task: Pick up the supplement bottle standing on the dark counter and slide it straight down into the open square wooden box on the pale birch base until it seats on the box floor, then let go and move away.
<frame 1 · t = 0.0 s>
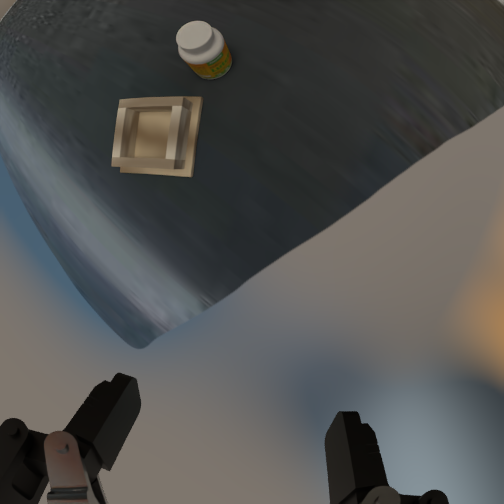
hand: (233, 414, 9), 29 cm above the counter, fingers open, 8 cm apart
supplement bottle: (213, 63, 31), on the counter
open square wooden box: (160, 135, 34), on the counter
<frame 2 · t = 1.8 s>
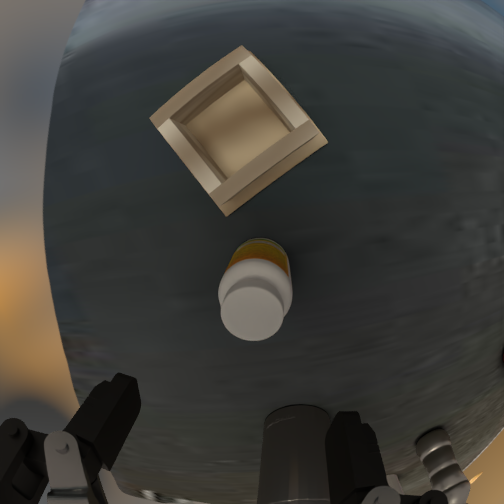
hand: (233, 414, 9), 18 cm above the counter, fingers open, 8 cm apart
supplement bottle: (260, 263, 26), on the counter
plastic bottle: (428, 434, 33), on the counter
open square wooden box: (239, 130, 23), on the counter
shot glass: (384, 479, 38), on the counter
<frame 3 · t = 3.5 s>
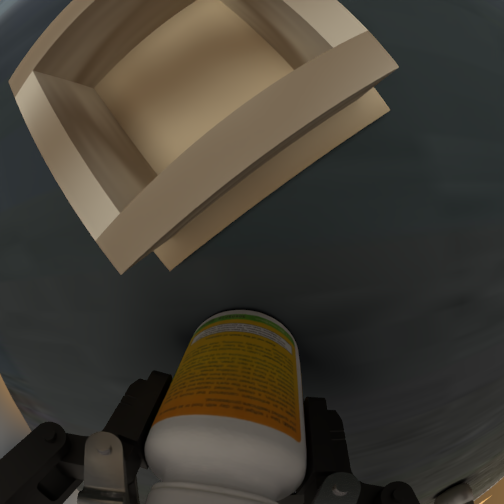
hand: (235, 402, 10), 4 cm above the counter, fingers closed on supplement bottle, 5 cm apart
supplement bottle: (244, 350, 13), on the counter, touching gripper
plastic bottle: (449, 488, 20), on the counter
open square wooden box: (195, 86, 10), on the counter
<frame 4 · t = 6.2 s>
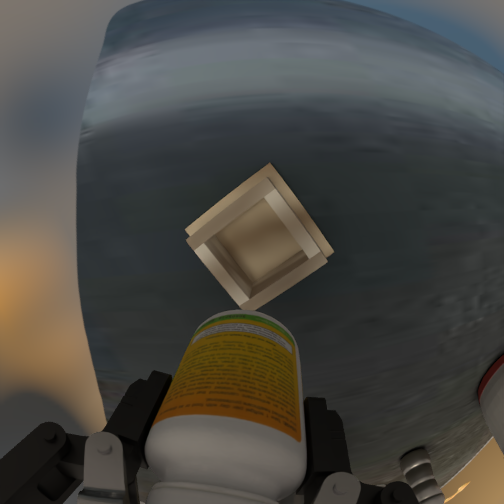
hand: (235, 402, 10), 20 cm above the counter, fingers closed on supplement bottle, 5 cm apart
supplement bottle: (244, 350, 13), point 17 cm above the counter, touching gripper
plastic bottle: (412, 453, 38), on the counter
citrus juicer: (497, 371, 32), on the counter
open square wooden box: (259, 238, 29), on the counter
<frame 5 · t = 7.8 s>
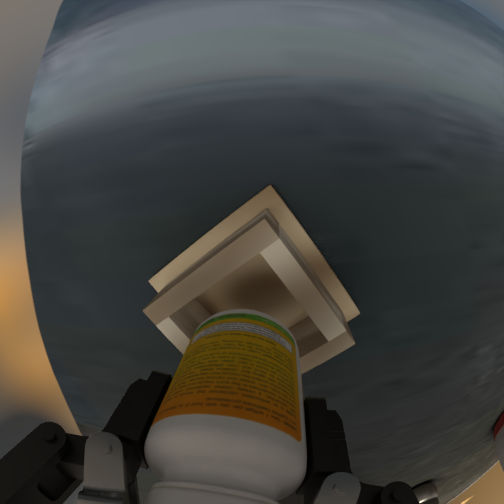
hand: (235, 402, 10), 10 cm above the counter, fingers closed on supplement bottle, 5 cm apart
supplement bottle: (244, 349, 13), point 7 cm above the counter, touching gripper
plastic bottle: (419, 486, 30), on the counter
open square wooden box: (254, 293, 20), on the counter
when the fingers open (6 cm above the counter, at t = 9.2 s): supplement bottle drops 2 cm, resting on open square wooden box.
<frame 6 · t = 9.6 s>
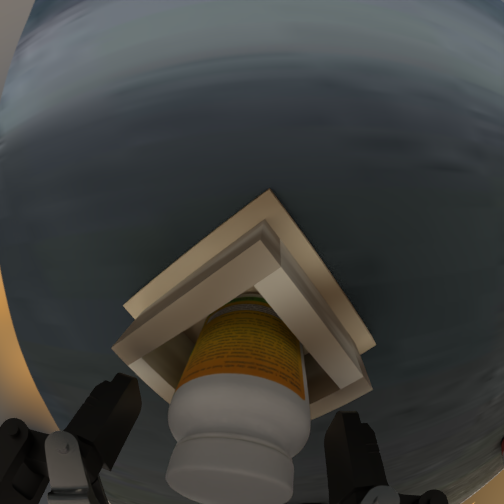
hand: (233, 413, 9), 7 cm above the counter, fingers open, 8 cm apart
supplement bottle: (252, 331, 15), point 1 cm above the counter, touching open square wooden box
open square wooden box: (249, 322, 16), on the counter
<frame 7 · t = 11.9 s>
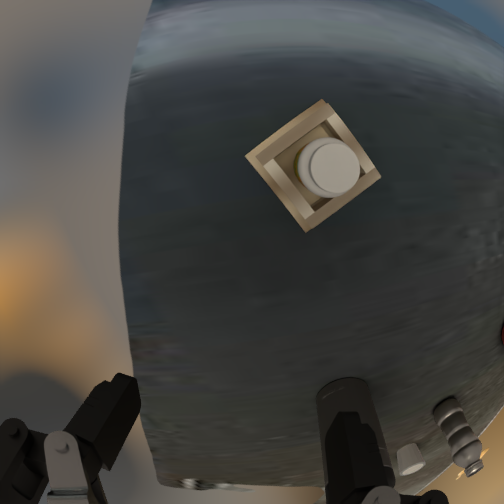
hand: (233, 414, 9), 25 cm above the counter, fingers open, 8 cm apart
supplement bottle: (316, 166, 29), point 1 cm above the counter, touching open square wooden box
plastic bottle: (443, 404, 41), on the counter
open square wooden box: (313, 164, 30), on the counter
shot glass: (406, 448, 47), on the counter
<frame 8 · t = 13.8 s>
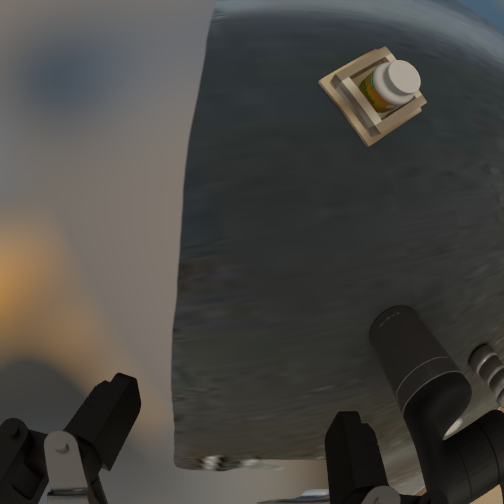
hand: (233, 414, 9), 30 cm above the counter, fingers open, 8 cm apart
supplement bottle: (375, 95, 30), point 1 cm above the counter, touching open square wooden box
plastic bottle: (477, 353, 42), on the counter
open square wooden box: (371, 95, 31), on the counter
shot glass: (441, 409, 47), on the counter
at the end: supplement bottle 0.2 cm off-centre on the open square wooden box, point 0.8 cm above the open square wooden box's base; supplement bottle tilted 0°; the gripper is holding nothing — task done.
